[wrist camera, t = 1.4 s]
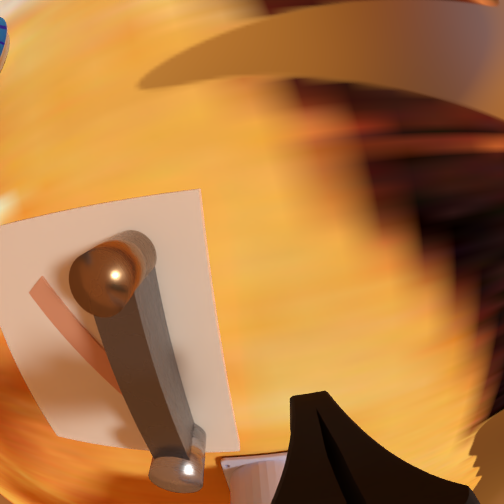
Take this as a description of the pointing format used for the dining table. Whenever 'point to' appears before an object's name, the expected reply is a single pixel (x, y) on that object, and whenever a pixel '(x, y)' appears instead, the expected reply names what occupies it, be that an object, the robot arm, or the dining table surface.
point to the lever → (142, 354)
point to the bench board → (84, 326)
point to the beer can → (3, 42)
